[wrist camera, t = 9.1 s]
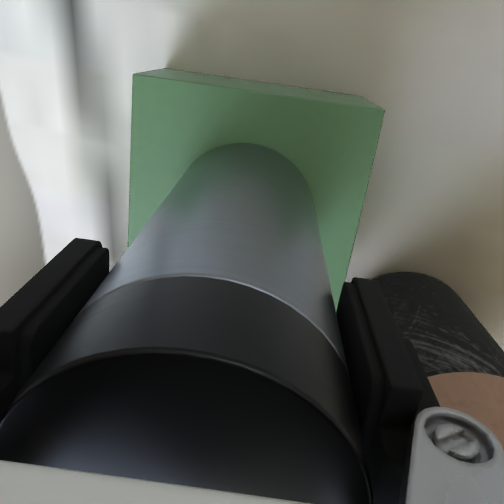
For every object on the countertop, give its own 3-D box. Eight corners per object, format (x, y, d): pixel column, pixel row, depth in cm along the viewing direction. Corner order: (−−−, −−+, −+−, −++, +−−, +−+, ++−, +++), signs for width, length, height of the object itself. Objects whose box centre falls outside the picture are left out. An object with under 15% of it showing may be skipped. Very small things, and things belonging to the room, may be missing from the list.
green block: (164, 67, 21) (132, 73, 17) (362, 96, 21) (385, 109, 17) (154, 250, 25) (126, 296, 20) (324, 274, 25) (334, 326, 20)
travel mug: (311, 367, 27) (374, 1027, 9) (355, 250, 24) (591, 881, 6) (437, 399, 28) (747, 1093, 9) (496, 286, 25) (1130, 988, 6)
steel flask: (211, 116, 17) (51, 274, 5) (340, 184, 18) (458, 462, 6) (153, 238, 19) (-56, 553, 7) (271, 295, 20) (258, 667, 8)
